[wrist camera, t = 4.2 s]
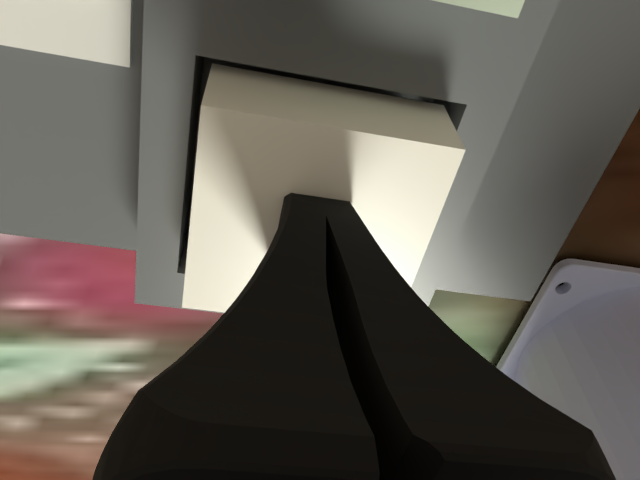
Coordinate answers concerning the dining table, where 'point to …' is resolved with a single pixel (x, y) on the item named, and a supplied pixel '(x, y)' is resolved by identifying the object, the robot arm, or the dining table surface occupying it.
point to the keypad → (323, 67)
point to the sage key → (490, 6)
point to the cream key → (309, 172)
